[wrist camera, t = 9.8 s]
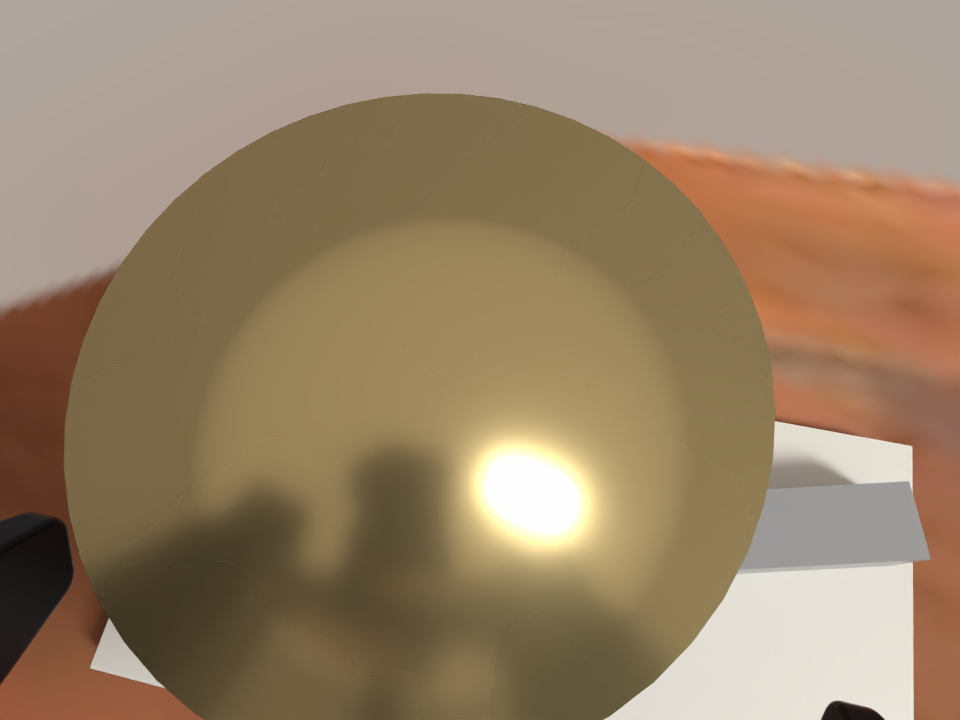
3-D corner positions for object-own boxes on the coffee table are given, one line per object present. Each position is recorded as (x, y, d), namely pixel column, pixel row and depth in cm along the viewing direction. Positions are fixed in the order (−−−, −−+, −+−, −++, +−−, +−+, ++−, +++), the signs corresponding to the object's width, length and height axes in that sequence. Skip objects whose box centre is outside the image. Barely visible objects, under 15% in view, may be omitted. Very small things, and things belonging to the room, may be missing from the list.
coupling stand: (887, 867, 16) (990, 936, 12) (115, 665, 19) (19, 675, 15) (890, 456, 19) (971, 419, 16) (238, 335, 22) (183, 280, 18)
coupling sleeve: (435, 699, 17) (126, 982, 4) (365, 500, 19) (-5, 215, 6) (629, 611, 17) (968, 583, 4) (542, 424, 19) (586, 0, 6)
